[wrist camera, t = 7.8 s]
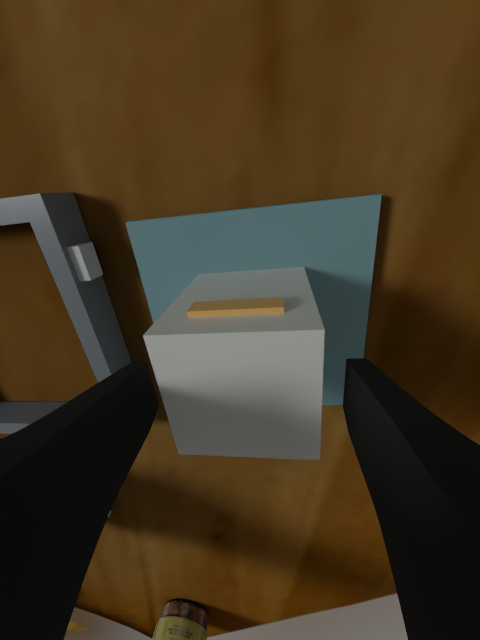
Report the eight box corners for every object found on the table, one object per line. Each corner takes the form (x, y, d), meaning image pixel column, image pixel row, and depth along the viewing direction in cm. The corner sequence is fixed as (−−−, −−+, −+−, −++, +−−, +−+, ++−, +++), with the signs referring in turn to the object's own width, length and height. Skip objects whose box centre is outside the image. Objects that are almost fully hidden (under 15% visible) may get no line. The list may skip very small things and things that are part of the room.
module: (304, 358, 14) (319, 460, 9) (213, 359, 15) (178, 453, 10) (303, 262, 12) (324, 322, 7) (197, 270, 13) (141, 329, 8)
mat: (355, 398, 16) (358, 405, 15) (179, 397, 18) (176, 403, 17) (376, 193, 11) (381, 194, 10) (131, 220, 13) (125, 222, 12)
